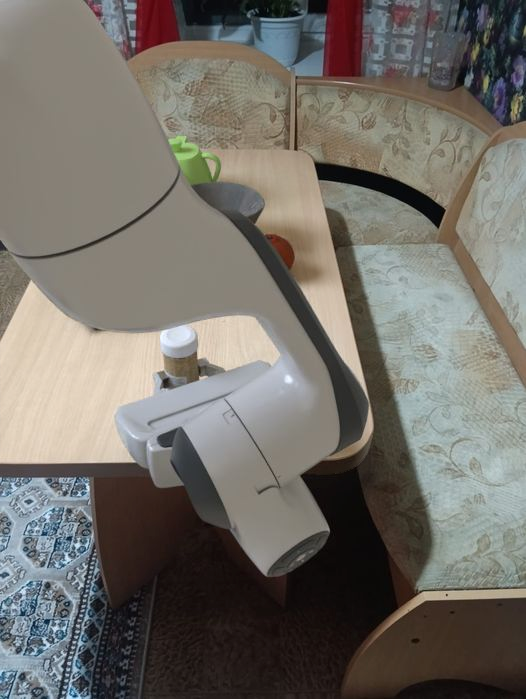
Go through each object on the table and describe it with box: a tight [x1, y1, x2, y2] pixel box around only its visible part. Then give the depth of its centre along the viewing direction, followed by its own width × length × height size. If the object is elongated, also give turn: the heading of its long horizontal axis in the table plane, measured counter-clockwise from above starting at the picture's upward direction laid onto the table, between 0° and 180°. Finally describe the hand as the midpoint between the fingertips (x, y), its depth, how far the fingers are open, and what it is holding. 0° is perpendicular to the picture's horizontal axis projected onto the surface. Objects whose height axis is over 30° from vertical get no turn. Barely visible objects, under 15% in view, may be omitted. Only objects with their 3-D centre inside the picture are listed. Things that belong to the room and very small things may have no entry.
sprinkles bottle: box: [159, 324, 200, 391], centre depth 70 cm, size 5×5×13 cm
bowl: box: [191, 181, 266, 225], centre depth 110 cm, size 19×19×10 cm
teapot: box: [168, 135, 222, 185], centre depth 124 cm, size 19×20×14 cm
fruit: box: [264, 233, 296, 272], centre depth 102 cm, size 9×9×8 cm
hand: (179, 369), depth 70 cm, fingers closed on sprinkles bottle, 4 cm apart
